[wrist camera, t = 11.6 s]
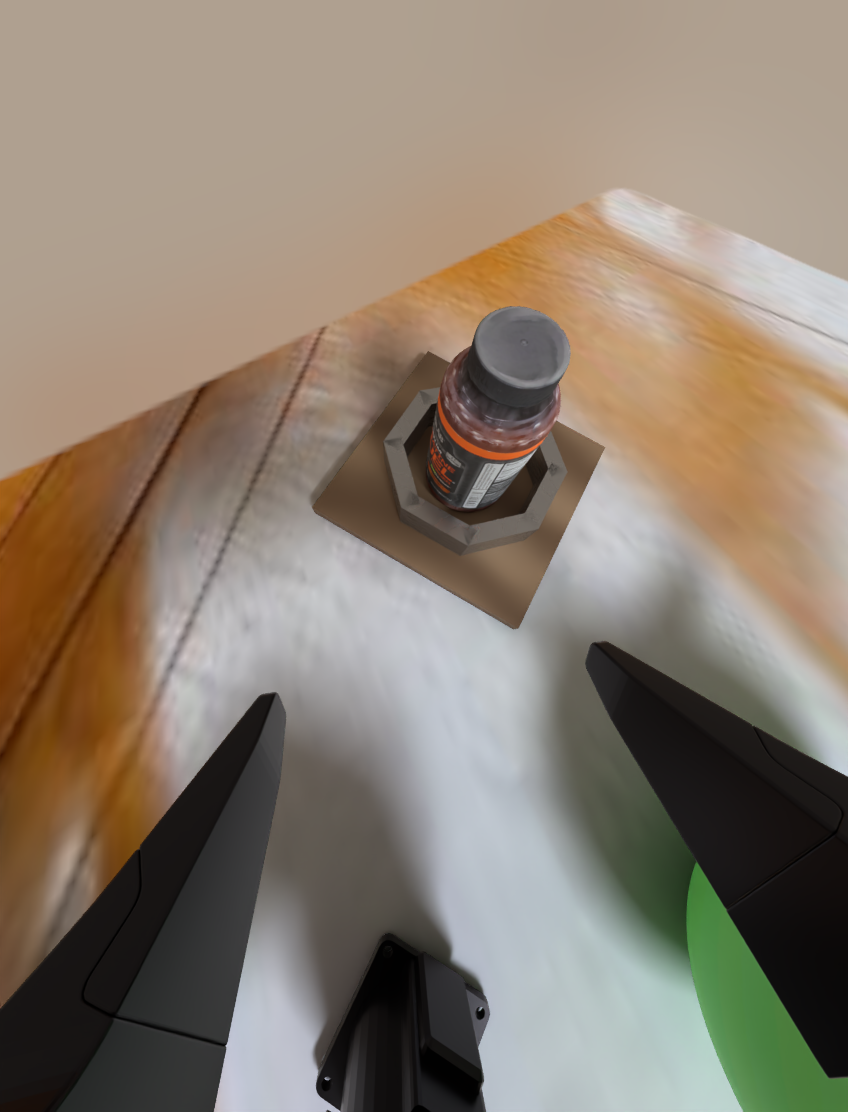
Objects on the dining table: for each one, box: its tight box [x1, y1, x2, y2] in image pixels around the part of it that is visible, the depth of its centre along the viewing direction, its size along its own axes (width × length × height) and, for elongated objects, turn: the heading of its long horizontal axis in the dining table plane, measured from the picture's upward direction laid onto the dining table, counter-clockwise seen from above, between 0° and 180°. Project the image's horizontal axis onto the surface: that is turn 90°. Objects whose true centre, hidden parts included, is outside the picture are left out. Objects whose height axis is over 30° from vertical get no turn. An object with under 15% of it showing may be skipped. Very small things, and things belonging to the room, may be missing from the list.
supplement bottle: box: [426, 306, 570, 512], centre depth 18 cm, size 6×6×11 cm
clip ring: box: [383, 387, 568, 556], centre depth 23 cm, size 12×12×2 cm
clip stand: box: [312, 351, 605, 629], centre depth 25 cm, size 16×16×1 cm
